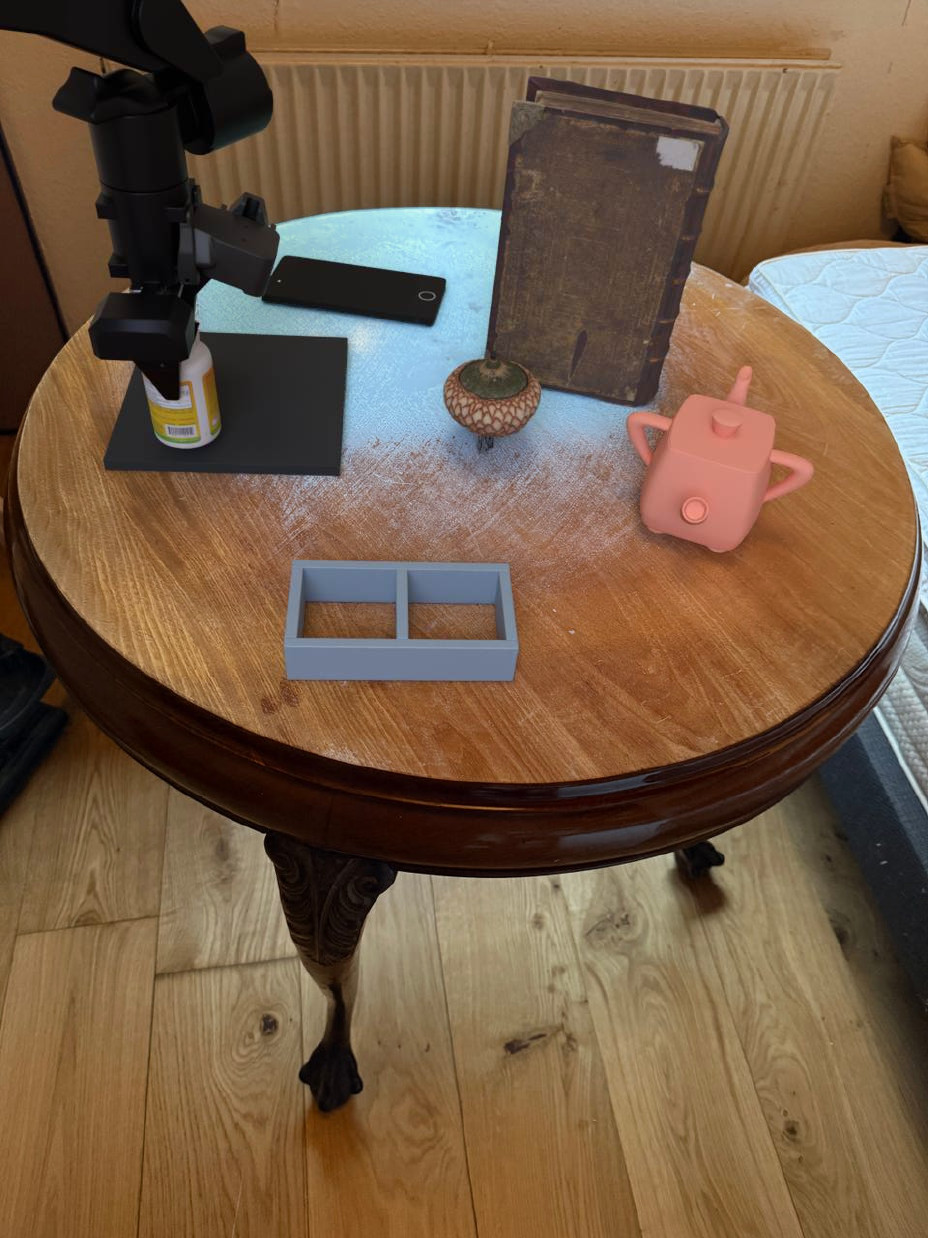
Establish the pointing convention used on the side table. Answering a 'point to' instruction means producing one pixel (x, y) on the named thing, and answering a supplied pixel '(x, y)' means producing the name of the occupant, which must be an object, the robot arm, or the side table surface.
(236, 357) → the mat
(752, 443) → the teapot
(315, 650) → the holder
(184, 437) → the supplement bottle
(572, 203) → the book
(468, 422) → the acorn
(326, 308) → the cell phone
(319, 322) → the side table surface
